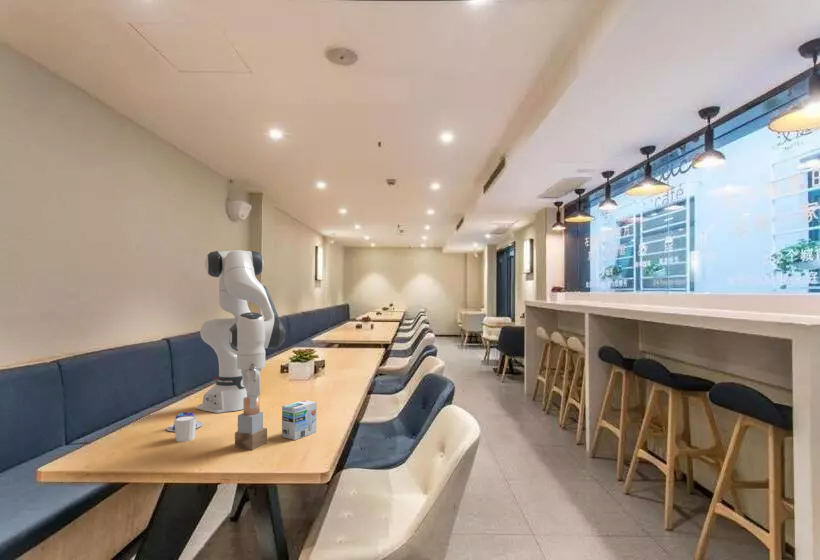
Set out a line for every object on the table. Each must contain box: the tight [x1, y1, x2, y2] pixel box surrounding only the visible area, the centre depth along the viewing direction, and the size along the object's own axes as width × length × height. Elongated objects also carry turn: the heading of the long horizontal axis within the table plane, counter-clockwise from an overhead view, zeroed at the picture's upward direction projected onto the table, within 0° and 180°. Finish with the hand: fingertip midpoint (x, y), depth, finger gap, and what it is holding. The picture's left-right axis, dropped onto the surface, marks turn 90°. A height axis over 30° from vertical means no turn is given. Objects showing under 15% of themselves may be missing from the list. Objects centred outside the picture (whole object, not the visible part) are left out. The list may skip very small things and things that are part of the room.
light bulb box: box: [281, 399, 318, 441], centre depth 151 cm, size 11×7×11 cm, turn 148°
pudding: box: [166, 411, 204, 432], centre depth 161 cm, size 12×12×5 cm
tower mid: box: [237, 411, 264, 434], centre depth 140 cm, size 6×6×6 cm
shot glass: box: [173, 415, 198, 443], centre depth 148 cm, size 7×7×7 cm
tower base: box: [234, 427, 268, 451], centre depth 141 cm, size 7×7×5 cm
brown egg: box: [242, 395, 261, 415], centre depth 141 cm, size 5×5×5 cm
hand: (251, 404), depth 141 cm, fingers open, 8 cm apart
